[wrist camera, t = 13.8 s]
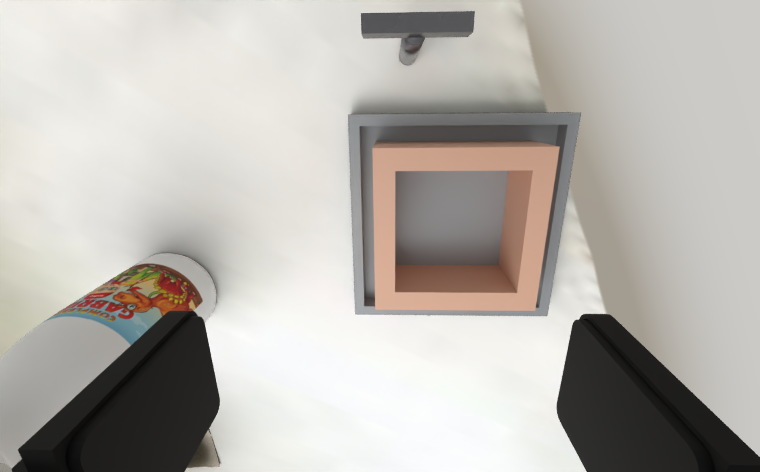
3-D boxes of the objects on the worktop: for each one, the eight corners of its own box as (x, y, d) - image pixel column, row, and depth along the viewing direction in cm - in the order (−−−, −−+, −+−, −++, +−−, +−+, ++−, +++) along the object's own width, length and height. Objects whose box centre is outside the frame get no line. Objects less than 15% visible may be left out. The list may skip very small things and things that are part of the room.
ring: (375, 141, 28) (372, 148, 24) (531, 140, 28) (559, 146, 23) (377, 280, 32) (375, 309, 28) (514, 280, 32) (535, 310, 27)
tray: (351, 114, 28) (348, 114, 26) (568, 112, 28) (581, 112, 26) (357, 302, 34) (355, 314, 32) (538, 304, 33) (547, 316, 31)
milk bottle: (233, 312, 34) (42, 558, 16) (163, 333, 36) (-95, 588, 17) (194, 239, 32) (-88, 426, 13) (120, 265, 33) (-237, 471, 14)
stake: (373, 47, 27) (360, 8, 16) (441, 46, 26) (475, 6, 16) (373, 65, 27) (361, 38, 16) (440, 64, 27) (472, 36, 16)
